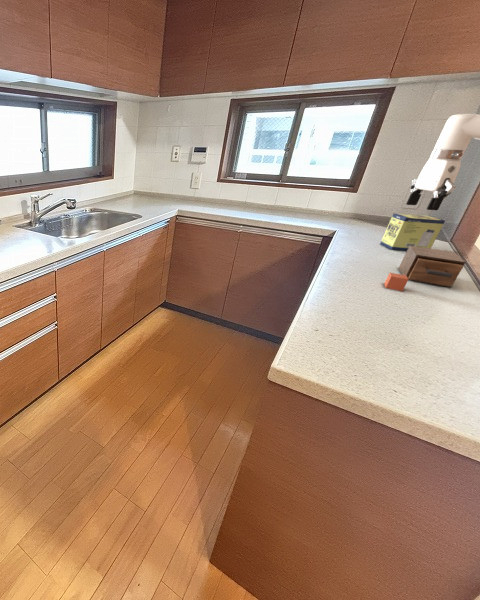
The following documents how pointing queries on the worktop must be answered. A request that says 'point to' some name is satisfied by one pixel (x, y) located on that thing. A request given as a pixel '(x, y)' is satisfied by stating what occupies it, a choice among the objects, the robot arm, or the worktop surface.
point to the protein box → (411, 231)
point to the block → (396, 281)
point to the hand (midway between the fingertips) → (421, 207)
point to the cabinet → (427, 253)
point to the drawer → (435, 271)
